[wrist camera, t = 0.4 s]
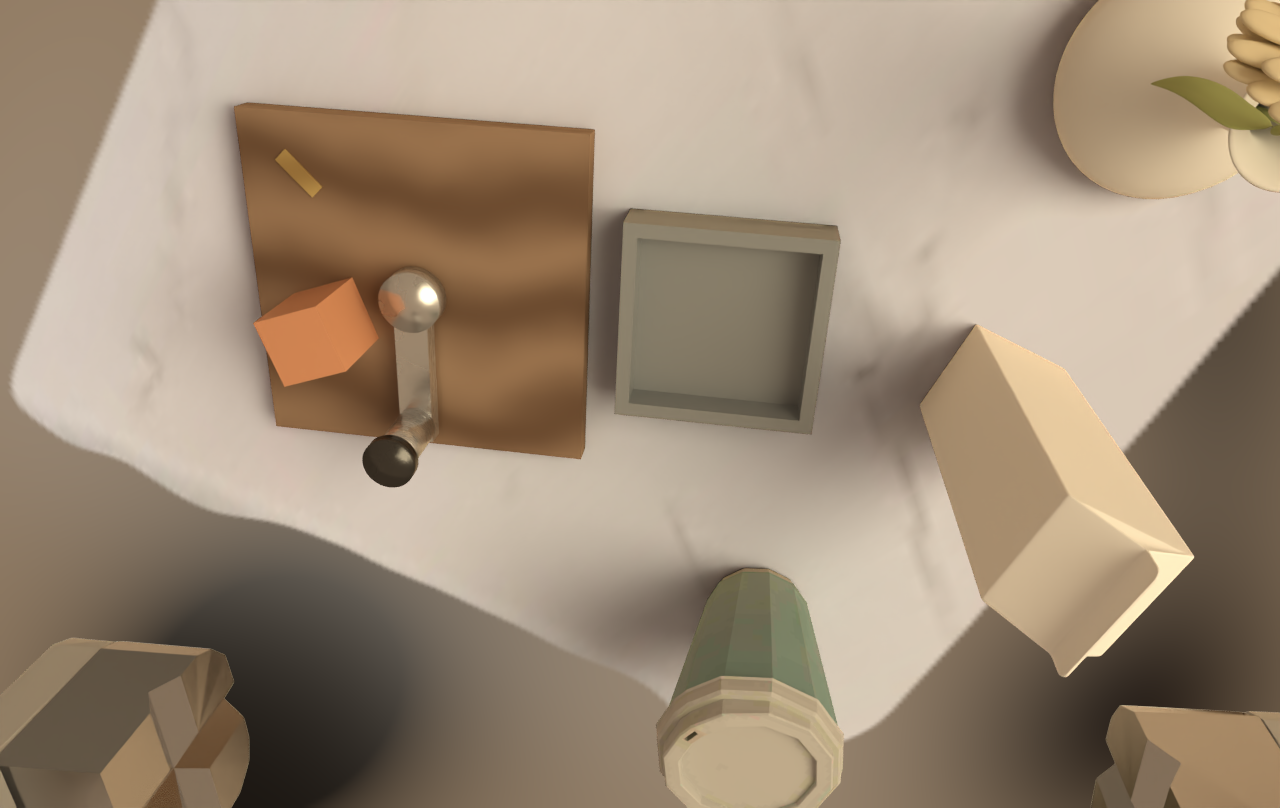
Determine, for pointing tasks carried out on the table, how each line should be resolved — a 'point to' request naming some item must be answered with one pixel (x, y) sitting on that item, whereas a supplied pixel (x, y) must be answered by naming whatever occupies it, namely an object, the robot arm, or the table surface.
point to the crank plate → (433, 263)
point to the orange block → (317, 332)
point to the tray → (723, 319)
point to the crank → (409, 374)
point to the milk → (1046, 500)
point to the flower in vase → (1172, 95)
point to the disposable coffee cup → (752, 704)
